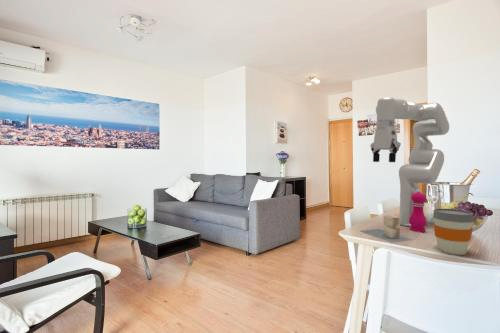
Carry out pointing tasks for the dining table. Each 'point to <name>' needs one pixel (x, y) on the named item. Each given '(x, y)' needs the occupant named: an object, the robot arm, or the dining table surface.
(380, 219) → the dining table surface
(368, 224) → the dining table surface
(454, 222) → the reusable coffee cup
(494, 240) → the dining table surface
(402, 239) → the slate mat
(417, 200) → the pepper mill
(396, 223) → the beech block
